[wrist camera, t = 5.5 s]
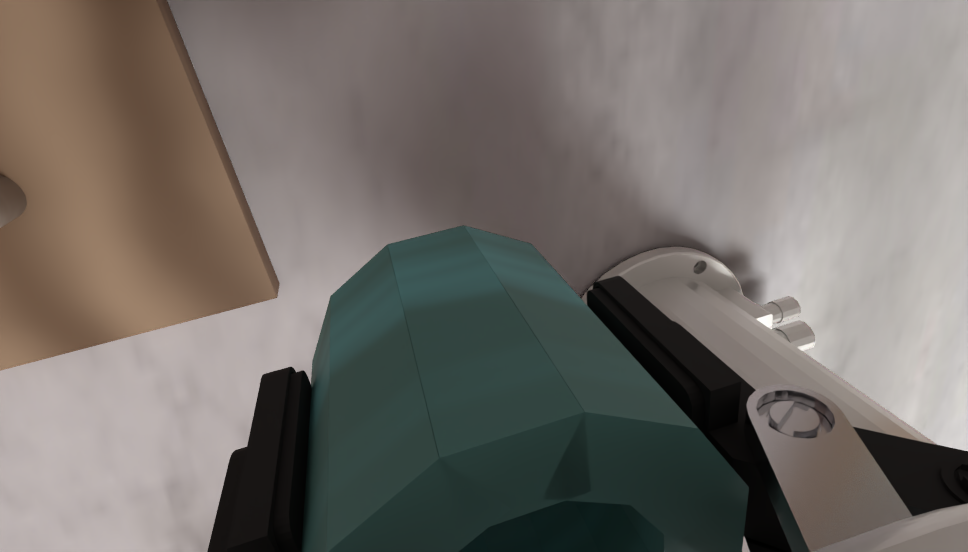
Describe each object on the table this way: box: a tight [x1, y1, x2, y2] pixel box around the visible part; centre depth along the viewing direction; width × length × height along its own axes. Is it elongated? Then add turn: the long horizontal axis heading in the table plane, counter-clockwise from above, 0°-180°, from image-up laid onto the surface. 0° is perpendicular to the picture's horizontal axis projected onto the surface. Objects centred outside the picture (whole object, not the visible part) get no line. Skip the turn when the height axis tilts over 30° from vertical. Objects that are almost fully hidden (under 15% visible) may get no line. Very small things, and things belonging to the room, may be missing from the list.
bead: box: [301, 225, 749, 552], centre depth 9 cm, size 6×6×6 cm
